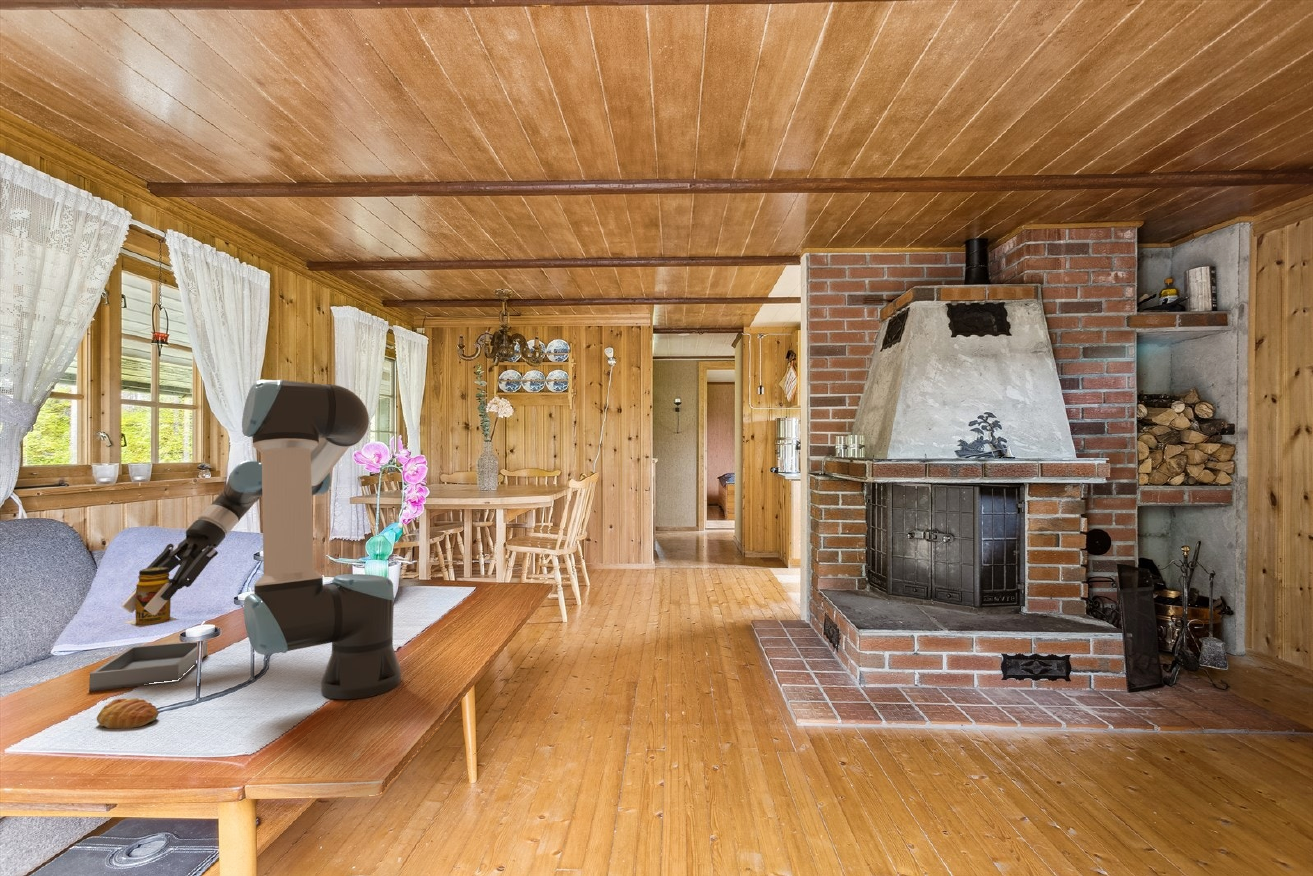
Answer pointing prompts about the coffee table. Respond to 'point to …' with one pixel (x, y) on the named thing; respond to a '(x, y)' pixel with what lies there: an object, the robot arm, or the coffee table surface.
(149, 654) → the tray
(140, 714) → the pastry
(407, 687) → the coffee table surface
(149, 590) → the condiment
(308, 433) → the robot arm
